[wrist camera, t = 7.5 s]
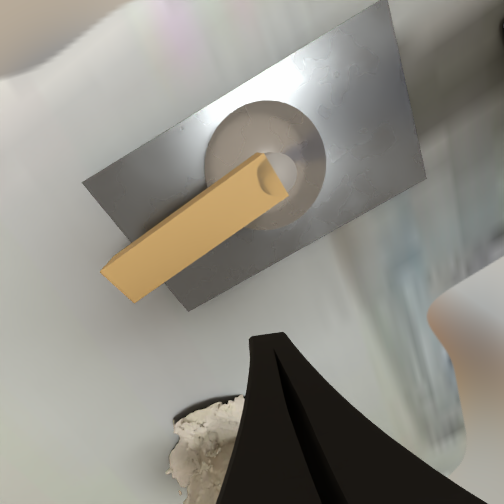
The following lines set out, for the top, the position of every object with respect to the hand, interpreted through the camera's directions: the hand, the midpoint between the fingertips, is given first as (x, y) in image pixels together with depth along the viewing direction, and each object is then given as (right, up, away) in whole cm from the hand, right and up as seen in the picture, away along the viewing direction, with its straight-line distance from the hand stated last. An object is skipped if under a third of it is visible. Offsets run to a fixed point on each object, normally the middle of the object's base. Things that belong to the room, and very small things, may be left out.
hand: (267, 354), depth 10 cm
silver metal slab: (0, +9, +8) cm, 12 cm away
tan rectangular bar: (-3, +6, +5) cm, 8 cm away
